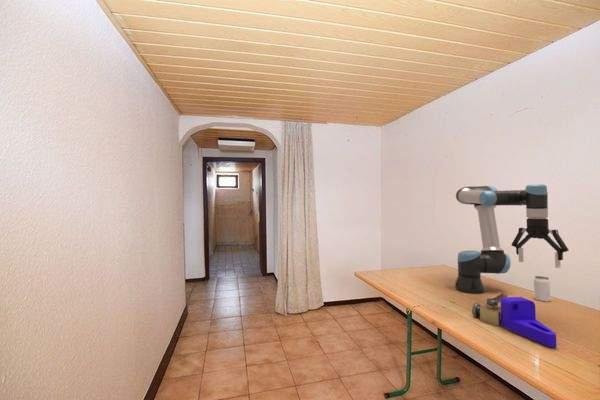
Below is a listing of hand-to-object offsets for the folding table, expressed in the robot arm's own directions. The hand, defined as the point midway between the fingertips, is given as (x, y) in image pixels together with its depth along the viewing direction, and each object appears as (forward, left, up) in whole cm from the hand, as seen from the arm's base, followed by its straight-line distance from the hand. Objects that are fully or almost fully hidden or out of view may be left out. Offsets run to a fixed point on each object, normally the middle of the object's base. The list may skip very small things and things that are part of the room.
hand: (538, 264), depth 123 cm
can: (-7, +30, -24) cm, 40 cm away
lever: (-11, -16, -17) cm, 26 cm away
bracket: (+4, -25, -24) cm, 35 cm away
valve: (-11, -22, -24) cm, 34 cm away
